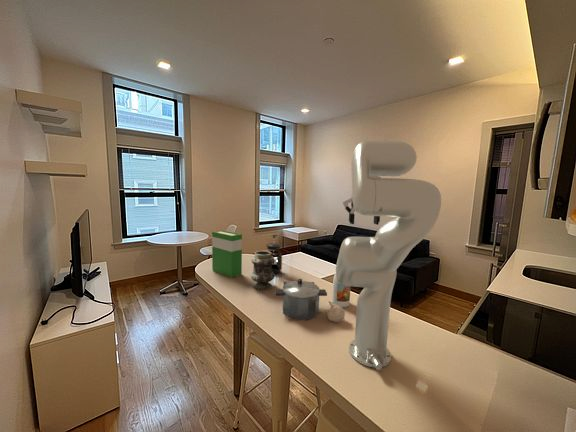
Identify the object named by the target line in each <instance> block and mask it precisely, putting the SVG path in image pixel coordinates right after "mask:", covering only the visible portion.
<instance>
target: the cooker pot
mask: <svg viewBox="0 0 576 432" xmlns="http://www.w3.org/2000/svg"><path fill="white" fill-rule="evenodd" d="M310 282H311V283H314V284H315V282H314V281H310ZM286 283H288V281H283V286H284V285H285V284H286ZM275 296H277V297H282V313H283V314H284V315H285V316H286V317H287V318H289V319H292V320H295V321H309V320H312V319H315V318H316V317H317V315H319V308H320V297H327V296H328V292H327V290H326V289H325V288H323V289H321V288H319V294H318V295H317V296H315V297H312V298H304V299H303V298H294V297H291V296H288V295H286V294H285V293H284V292H283V288H282V289H278V288H276V289H275Z"/></svg>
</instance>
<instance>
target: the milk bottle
mask: <svg viewBox="0 0 576 432" xmlns="http://www.w3.org/2000/svg"><path fill="white" fill-rule="evenodd" d="M332 280H333V281H332V293H331V296H332V297H331V303H332V304H336V305H338V306H340V307H342V308H347V307H349V305H350V300H351V286H344V285H342V284H340V283H339V282H338V280H337V277H336V272H335V273H334V275H333V279H332Z"/></svg>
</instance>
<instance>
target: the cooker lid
mask: <svg viewBox="0 0 576 432" xmlns="http://www.w3.org/2000/svg"><path fill="white" fill-rule="evenodd" d="M311 282H312V281H306V280H303V279H302V278H298V279H297V280H292V281H287V283H286V284H285V285H284V284H283V285H282V289H283V292H284V293H285V294H286V295H288V296H291V297H294V298H303V299H304V298H312V297H315V296H317V295H318V294H319V289H320V287H319V286H318V284H316V283H315V282H314V283H311Z"/></svg>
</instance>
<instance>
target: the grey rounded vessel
mask: <svg viewBox="0 0 576 432" xmlns="http://www.w3.org/2000/svg"><path fill="white" fill-rule="evenodd" d="M269 251H270V250H269ZM269 251H268V250H259V251H258V250H257V251H255V253H254V255H253V256H252V257H251V263H252V264H253V269H252V272H251V274H250V278H251V280H252V281H254V283H253V285H252V287H253V289H255V290H257V291H267V290H270V289H272V287H273V285H272V283H271V282H272V281H273V280H274V278H275V275H274V273H273V272H272V264H273V263H274V260H275V257H274V258H273V257H272V255H273V254H272V253H271V252H269Z"/></svg>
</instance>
